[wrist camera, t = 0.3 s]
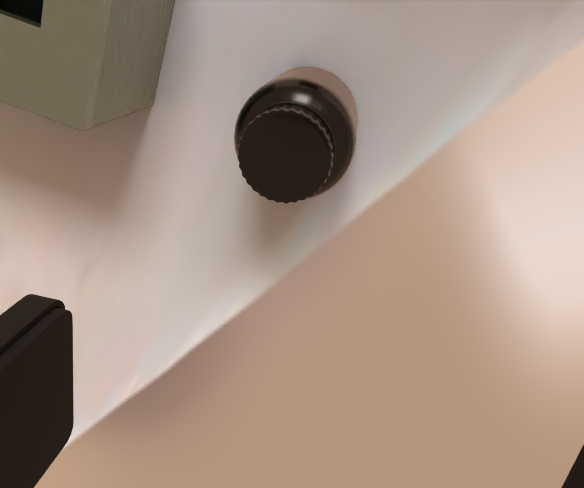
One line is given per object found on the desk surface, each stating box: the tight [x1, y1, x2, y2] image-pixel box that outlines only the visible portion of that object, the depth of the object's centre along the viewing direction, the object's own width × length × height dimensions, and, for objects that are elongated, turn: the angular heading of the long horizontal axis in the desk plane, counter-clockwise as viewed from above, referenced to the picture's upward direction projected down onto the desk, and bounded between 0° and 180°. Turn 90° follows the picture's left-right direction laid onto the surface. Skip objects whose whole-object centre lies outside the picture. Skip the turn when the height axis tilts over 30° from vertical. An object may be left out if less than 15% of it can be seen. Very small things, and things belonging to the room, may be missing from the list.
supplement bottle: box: [234, 67, 357, 203], centre depth 31 cm, size 7×7×12 cm
